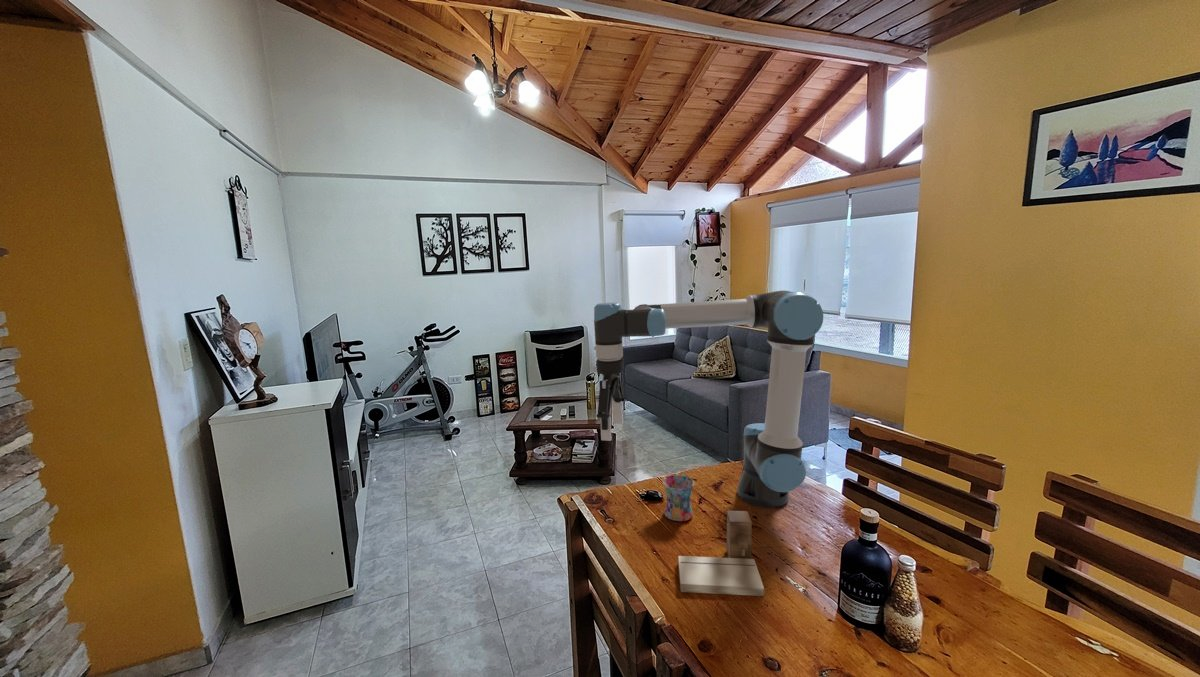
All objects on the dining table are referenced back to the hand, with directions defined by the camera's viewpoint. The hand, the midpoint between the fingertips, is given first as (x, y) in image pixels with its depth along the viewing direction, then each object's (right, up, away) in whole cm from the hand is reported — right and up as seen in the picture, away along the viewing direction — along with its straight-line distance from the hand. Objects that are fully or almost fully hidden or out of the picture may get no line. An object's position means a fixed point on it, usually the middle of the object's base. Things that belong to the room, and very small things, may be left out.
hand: (612, 431), depth 128 cm
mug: (+21, -26, +5) cm, 33 cm away
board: (+24, -29, -24) cm, 45 cm away
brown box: (+31, -28, -18) cm, 46 cm away
